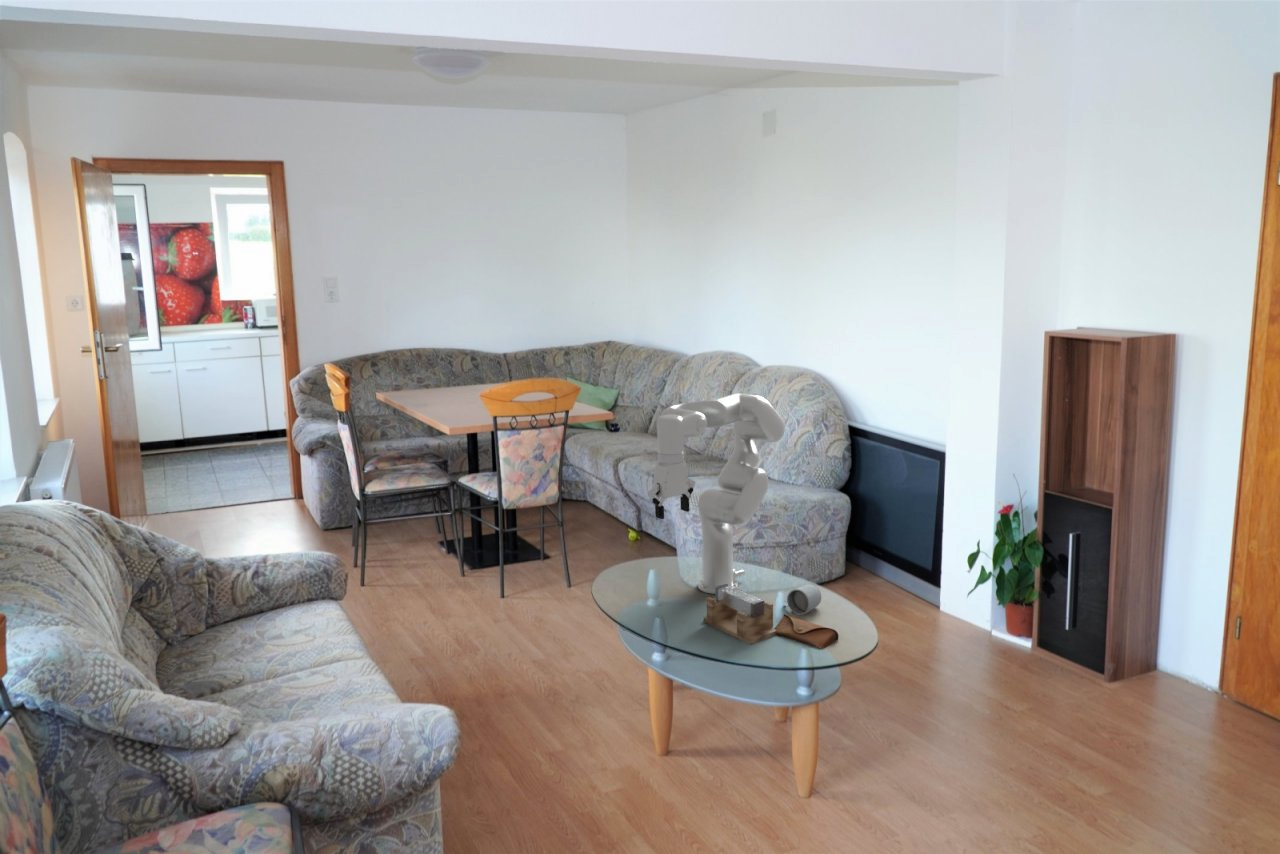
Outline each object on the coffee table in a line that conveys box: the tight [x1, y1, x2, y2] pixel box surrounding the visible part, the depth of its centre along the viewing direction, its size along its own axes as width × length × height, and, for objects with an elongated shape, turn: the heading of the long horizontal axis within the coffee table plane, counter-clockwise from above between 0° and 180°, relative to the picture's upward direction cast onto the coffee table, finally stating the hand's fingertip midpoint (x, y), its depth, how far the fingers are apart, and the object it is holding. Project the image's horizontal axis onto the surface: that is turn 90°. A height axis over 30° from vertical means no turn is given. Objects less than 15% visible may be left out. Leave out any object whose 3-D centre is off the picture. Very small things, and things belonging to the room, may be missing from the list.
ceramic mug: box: [786, 583, 822, 616], centre depth 302 cm, size 11×8×8 cm
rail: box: [714, 584, 765, 618], centre depth 289 cm, size 4×16×4 cm, turn 36°
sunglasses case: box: [774, 613, 839, 651], centre depth 284 cm, size 18×7×7 cm, turn 50°
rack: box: [703, 587, 777, 645], centre depth 290 cm, size 11×20×8 cm, turn 36°
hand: (672, 514), depth 298 cm, fingers open, 9 cm apart
